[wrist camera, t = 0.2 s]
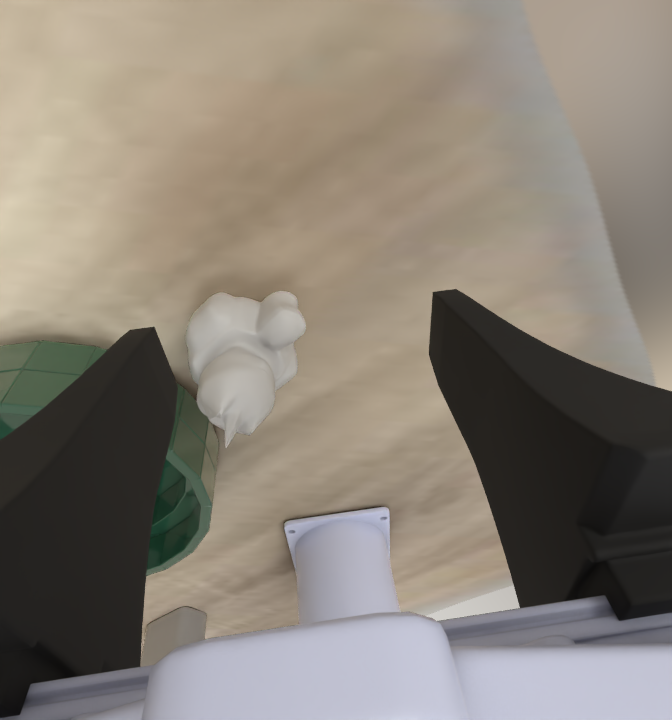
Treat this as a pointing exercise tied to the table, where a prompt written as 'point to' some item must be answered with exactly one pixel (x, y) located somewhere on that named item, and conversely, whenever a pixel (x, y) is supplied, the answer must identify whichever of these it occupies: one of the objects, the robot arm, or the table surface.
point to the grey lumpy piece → (242, 356)
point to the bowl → (184, 457)
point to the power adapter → (172, 633)
